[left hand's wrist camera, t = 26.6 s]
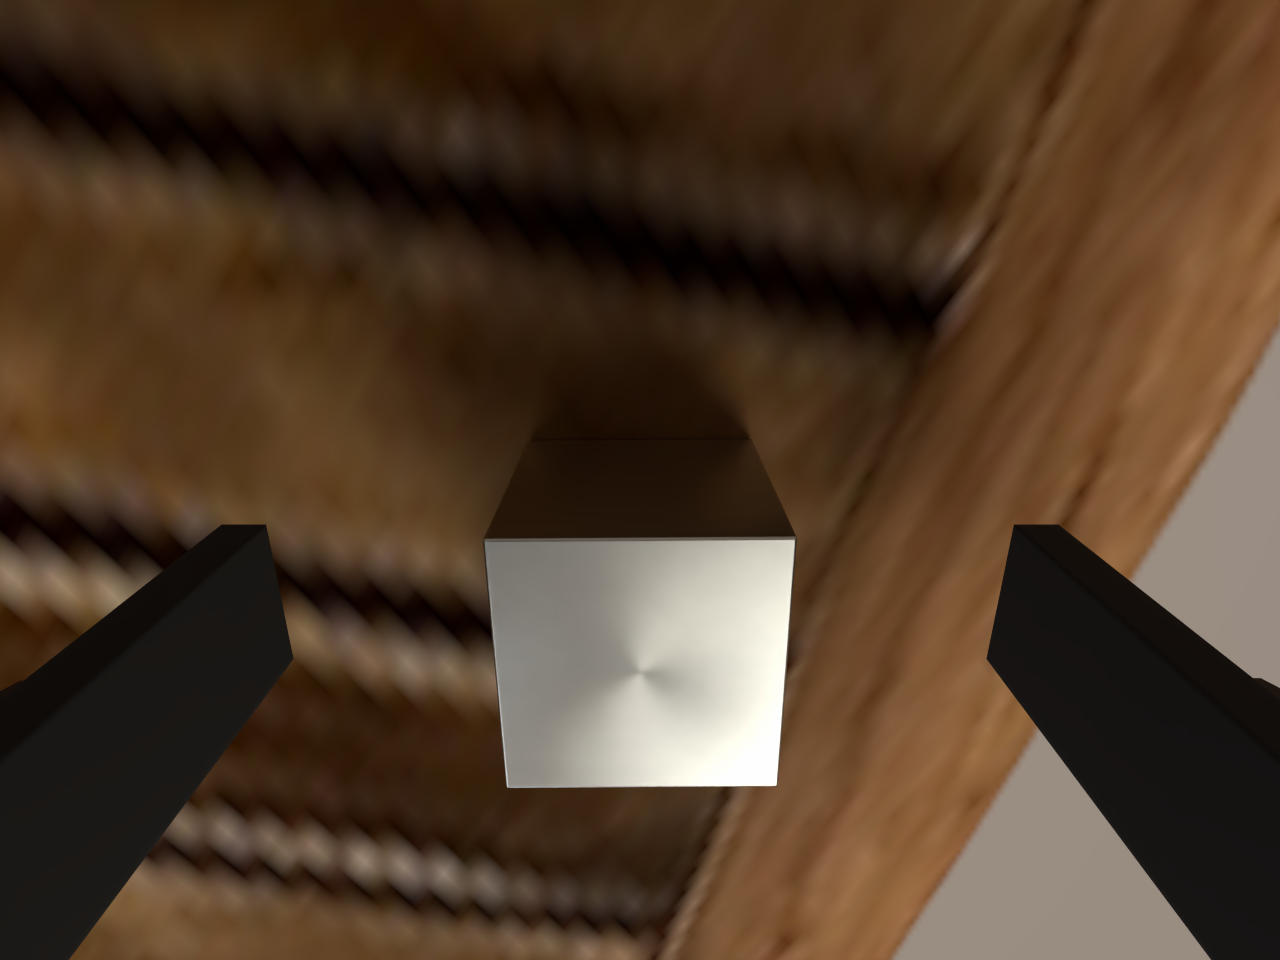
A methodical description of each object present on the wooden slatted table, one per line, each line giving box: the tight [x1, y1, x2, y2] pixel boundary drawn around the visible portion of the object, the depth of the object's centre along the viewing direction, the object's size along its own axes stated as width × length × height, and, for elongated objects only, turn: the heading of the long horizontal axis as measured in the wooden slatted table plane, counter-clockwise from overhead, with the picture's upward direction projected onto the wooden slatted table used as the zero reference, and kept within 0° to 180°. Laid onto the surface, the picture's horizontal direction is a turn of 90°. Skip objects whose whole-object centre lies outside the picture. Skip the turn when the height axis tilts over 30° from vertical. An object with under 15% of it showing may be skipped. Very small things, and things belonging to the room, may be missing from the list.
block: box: [483, 439, 797, 788], centre depth 13 cm, size 4×5×4 cm
